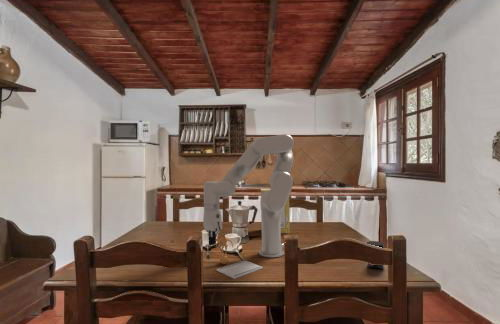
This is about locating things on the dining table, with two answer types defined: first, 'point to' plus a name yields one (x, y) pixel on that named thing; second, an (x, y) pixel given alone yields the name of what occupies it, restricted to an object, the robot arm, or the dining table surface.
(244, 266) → the mat
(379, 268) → the supplement container
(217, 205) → the robot arm
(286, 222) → the pasta box
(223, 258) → the figurine
